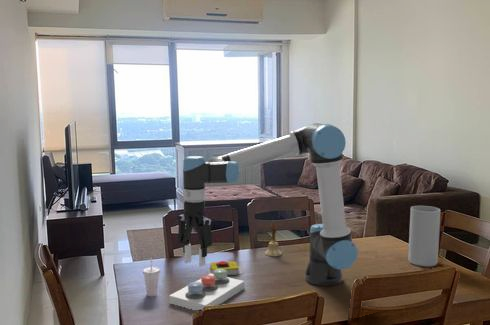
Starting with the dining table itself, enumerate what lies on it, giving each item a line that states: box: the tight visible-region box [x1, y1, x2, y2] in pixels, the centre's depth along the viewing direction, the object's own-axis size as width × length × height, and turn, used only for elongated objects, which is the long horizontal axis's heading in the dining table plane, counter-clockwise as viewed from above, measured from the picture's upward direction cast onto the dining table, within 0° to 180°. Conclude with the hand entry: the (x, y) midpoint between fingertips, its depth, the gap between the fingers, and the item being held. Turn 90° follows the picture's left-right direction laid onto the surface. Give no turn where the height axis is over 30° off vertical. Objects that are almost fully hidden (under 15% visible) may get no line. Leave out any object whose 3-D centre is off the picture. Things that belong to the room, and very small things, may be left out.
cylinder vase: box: [407, 205, 441, 268], centre depth 214 cm, size 12×12×25 cm
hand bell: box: [264, 220, 283, 257], centre depth 227 cm, size 8×8×16 cm
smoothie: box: [142, 257, 161, 297], centre depth 179 cm, size 6×6×14 cm
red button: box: [200, 274, 215, 286], centre depth 178 cm, size 5×5×2 cm
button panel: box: [168, 274, 245, 311], centre depth 178 cm, size 16×26×3 cm, turn 149°
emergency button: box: [206, 260, 245, 276], centre depth 204 cm, size 9×4×15 cm
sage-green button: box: [213, 269, 228, 279], centre depth 185 cm, size 5×5×2 cm
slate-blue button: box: [187, 281, 203, 293], centre depth 171 cm, size 5×5×2 cm
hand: (195, 263), depth 170 cm, fingers open, 6 cm apart
